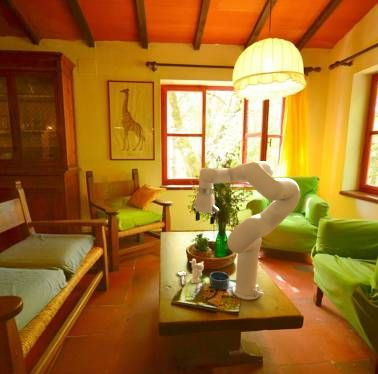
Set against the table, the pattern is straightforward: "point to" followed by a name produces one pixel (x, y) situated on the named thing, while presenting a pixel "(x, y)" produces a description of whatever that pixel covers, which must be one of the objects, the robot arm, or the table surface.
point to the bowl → (219, 280)
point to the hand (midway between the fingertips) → (204, 222)
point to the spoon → (182, 276)
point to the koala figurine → (196, 271)
